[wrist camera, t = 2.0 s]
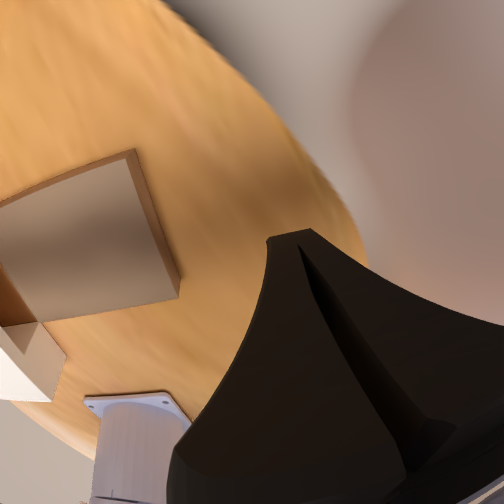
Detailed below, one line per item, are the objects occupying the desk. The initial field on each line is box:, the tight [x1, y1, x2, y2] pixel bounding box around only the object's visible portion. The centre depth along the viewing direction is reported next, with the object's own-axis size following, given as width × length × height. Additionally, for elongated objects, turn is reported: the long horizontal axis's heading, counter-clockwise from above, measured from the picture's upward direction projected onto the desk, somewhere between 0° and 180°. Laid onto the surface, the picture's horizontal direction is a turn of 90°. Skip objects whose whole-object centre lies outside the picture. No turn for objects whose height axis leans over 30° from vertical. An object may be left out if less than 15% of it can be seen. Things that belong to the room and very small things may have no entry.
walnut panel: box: [0, 148, 181, 323], centre depth 14 cm, size 7×9×2 cm
